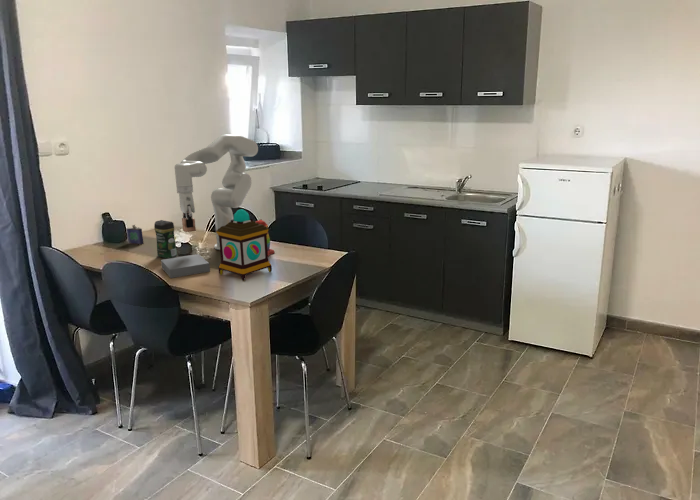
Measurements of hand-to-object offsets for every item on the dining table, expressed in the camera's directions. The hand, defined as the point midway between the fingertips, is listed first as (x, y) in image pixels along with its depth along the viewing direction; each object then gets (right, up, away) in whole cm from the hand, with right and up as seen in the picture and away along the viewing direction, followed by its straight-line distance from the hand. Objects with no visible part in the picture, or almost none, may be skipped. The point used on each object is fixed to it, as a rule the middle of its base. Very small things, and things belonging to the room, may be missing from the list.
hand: (188, 225), depth 284 cm
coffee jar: (-14, -15, +12) cm, 24 cm away
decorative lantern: (+31, -23, -18) cm, 43 cm away
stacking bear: (+34, -14, +11) cm, 39 cm away
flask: (-39, -9, +37) cm, 54 cm away
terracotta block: (0, -2, +1) cm, 2 cm away
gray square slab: (+2, -21, -11) cm, 24 cm away
